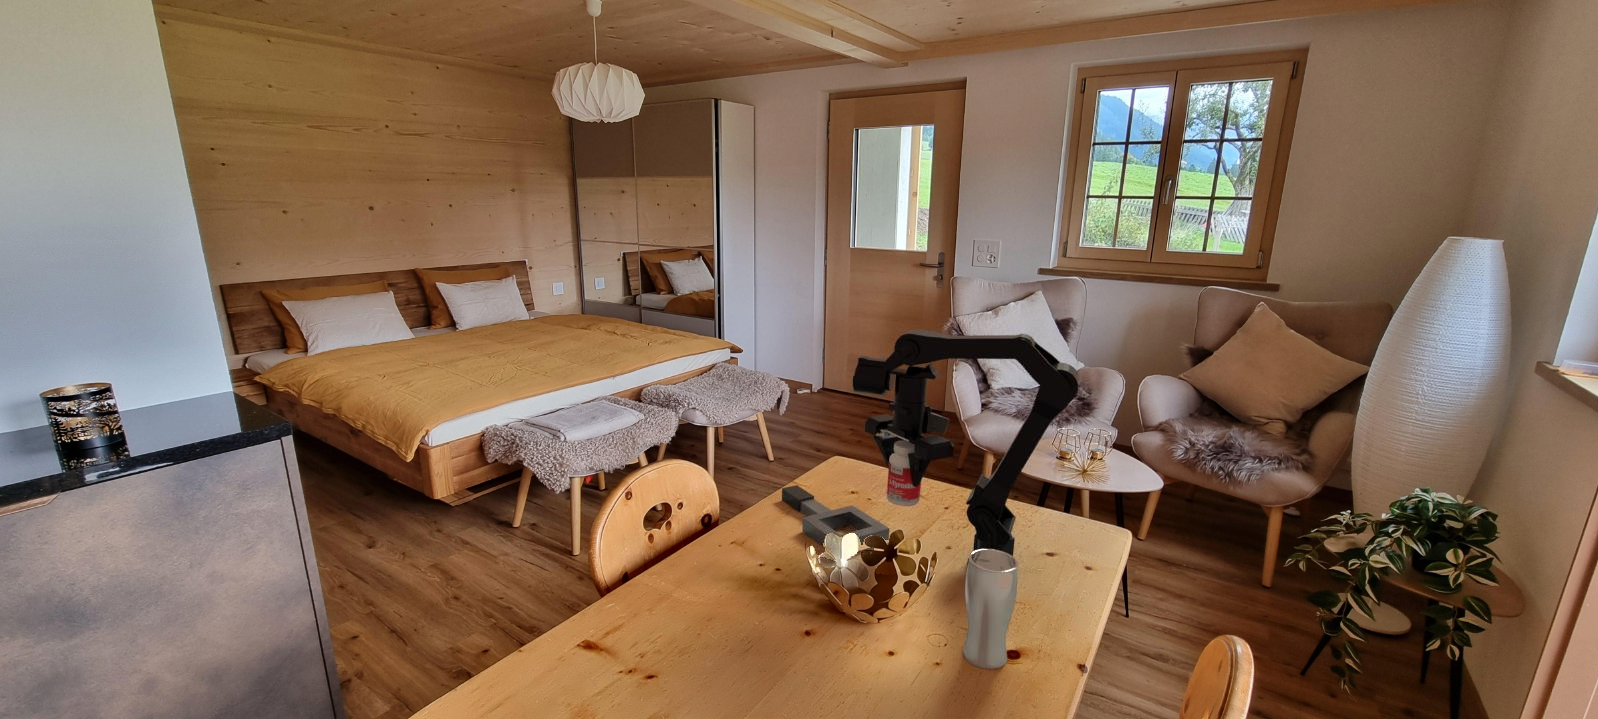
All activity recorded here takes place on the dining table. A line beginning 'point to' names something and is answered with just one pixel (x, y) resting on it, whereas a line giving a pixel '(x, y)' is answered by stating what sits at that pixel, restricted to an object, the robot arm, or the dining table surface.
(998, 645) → the beer glass
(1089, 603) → the dining table surface
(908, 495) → the pill bottle
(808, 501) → the socket
